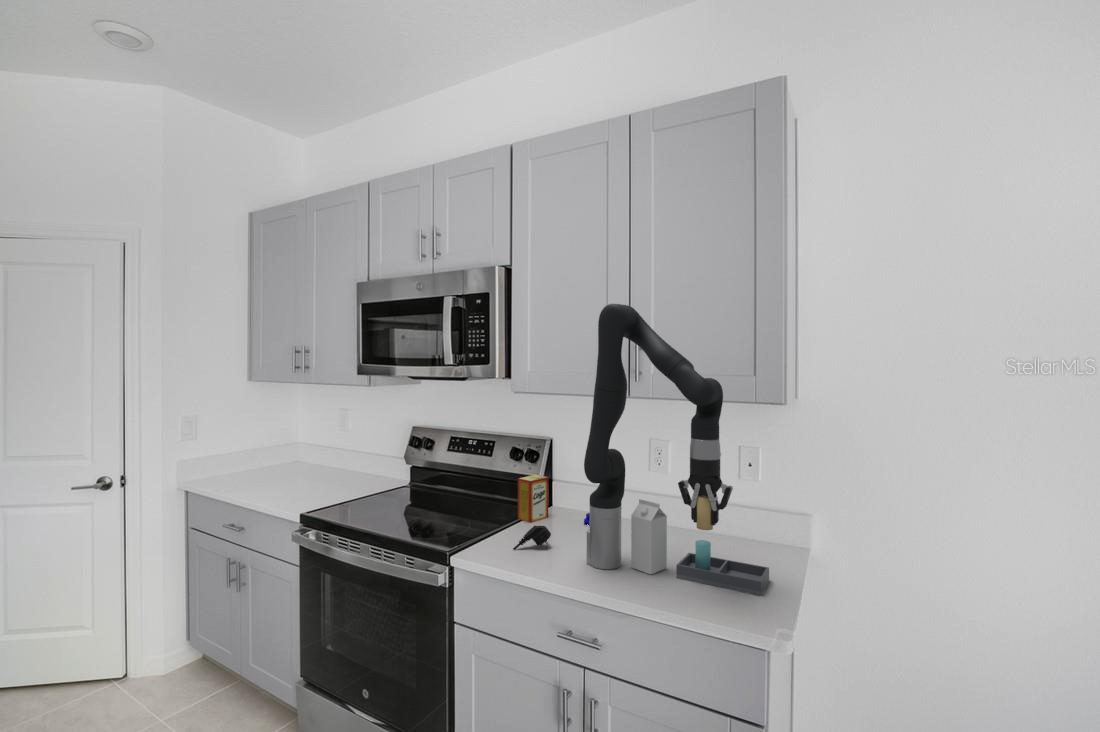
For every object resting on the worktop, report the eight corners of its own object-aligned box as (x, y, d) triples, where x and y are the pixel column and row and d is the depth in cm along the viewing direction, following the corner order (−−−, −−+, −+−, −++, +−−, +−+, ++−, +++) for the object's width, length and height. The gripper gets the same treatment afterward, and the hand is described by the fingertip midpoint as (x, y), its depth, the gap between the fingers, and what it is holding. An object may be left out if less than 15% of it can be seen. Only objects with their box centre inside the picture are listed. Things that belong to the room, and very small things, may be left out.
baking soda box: (530, 524, 197) (530, 480, 197) (517, 520, 202) (517, 477, 201) (548, 519, 204) (548, 476, 204) (535, 515, 208) (536, 473, 208)
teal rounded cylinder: (693, 572, 149) (693, 543, 149) (697, 567, 153) (697, 539, 153) (708, 575, 147) (708, 545, 147) (712, 570, 151) (712, 541, 151)
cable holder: (584, 525, 196) (584, 514, 196) (588, 523, 199) (588, 512, 199) (603, 529, 192) (603, 518, 192) (608, 527, 194) (608, 516, 194)
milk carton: (646, 562, 160) (647, 497, 160) (666, 569, 154) (667, 501, 154) (631, 568, 155) (631, 501, 155) (651, 575, 150) (651, 506, 150)
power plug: (510, 544, 172) (539, 518, 175) (524, 562, 173) (553, 536, 176) (513, 550, 167) (543, 523, 169) (528, 568, 168) (558, 541, 170)
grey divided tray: (676, 577, 148) (676, 564, 148) (688, 564, 158) (688, 552, 158) (761, 595, 137) (761, 581, 137) (769, 580, 146) (769, 567, 146)
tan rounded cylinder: (694, 528, 139) (694, 497, 139) (699, 524, 142) (699, 494, 142) (710, 531, 137) (710, 499, 137) (714, 527, 140) (714, 496, 140)
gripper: (673, 455, 140) (673, 522, 140) (729, 461, 133) (729, 531, 133) (682, 451, 147) (682, 515, 147) (737, 456, 139) (737, 524, 139)
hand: (704, 522), depth 140 cm, fingers closed on tan rounded cylinder, 4 cm apart
